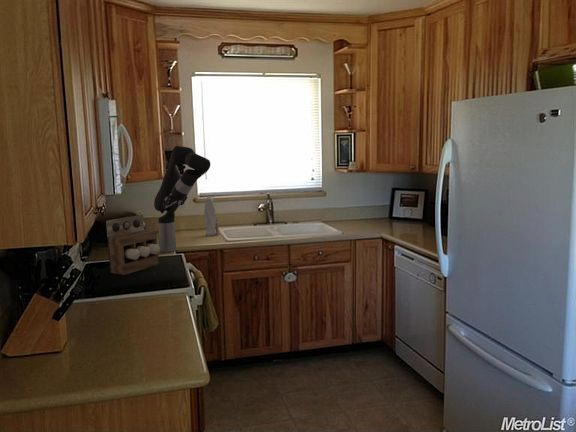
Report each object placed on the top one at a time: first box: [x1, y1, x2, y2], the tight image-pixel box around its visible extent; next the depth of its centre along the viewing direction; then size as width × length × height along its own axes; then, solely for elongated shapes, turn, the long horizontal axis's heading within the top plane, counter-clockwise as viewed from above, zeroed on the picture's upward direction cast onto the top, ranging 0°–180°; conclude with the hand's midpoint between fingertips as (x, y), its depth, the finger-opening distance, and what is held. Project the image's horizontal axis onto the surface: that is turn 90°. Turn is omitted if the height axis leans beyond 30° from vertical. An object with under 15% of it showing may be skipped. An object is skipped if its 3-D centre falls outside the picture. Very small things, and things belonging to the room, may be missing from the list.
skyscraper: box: [202, 194, 220, 237], centre depth 343 cm, size 8×8×28 cm
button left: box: [124, 248, 140, 260], centre depth 244 cm, size 7×5×5 cm
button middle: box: [136, 246, 150, 257], centre depth 249 cm, size 7×5×5 cm
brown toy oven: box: [105, 214, 160, 276], centre depth 252 cm, size 10×23×26 cm, turn 148°
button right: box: [146, 243, 161, 255], centre depth 255 cm, size 7×5×5 cm
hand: (167, 211), depth 248 cm, fingers open, 8 cm apart
